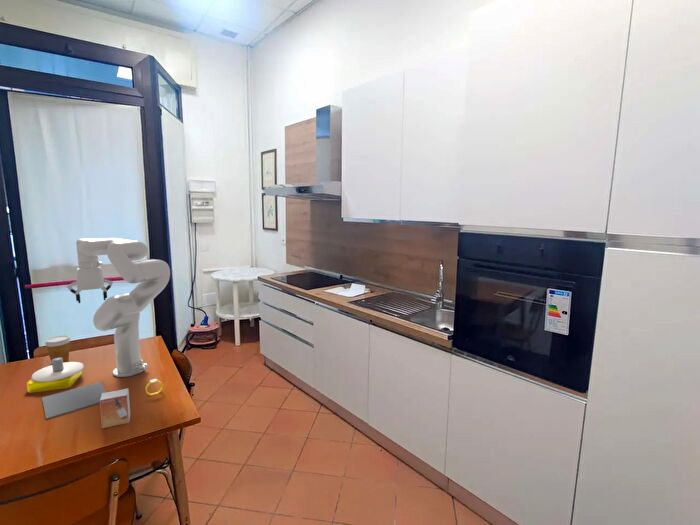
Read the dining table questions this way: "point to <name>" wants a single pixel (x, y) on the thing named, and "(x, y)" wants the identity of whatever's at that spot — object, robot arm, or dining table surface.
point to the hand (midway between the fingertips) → (92, 301)
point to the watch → (153, 383)
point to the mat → (72, 400)
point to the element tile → (52, 384)
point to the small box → (115, 408)
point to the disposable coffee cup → (58, 347)
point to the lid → (57, 370)
